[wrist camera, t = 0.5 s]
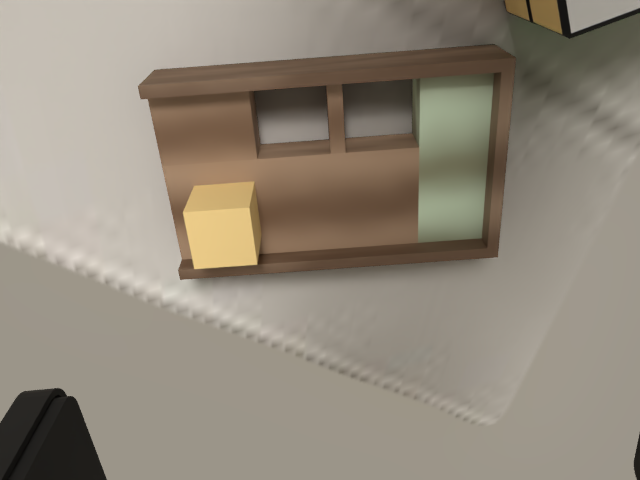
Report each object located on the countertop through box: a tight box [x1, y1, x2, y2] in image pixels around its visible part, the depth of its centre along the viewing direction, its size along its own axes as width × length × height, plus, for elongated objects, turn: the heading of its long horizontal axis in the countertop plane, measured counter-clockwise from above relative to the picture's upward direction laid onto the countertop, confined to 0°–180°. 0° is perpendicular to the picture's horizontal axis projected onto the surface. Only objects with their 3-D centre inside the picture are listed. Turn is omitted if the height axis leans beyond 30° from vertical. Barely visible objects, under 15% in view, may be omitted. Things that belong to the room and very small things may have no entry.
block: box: [183, 182, 261, 269], centre depth 39 cm, size 4×4×4 cm
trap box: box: [138, 44, 516, 280], centre depth 40 cm, size 14×23×4 cm, turn 94°
